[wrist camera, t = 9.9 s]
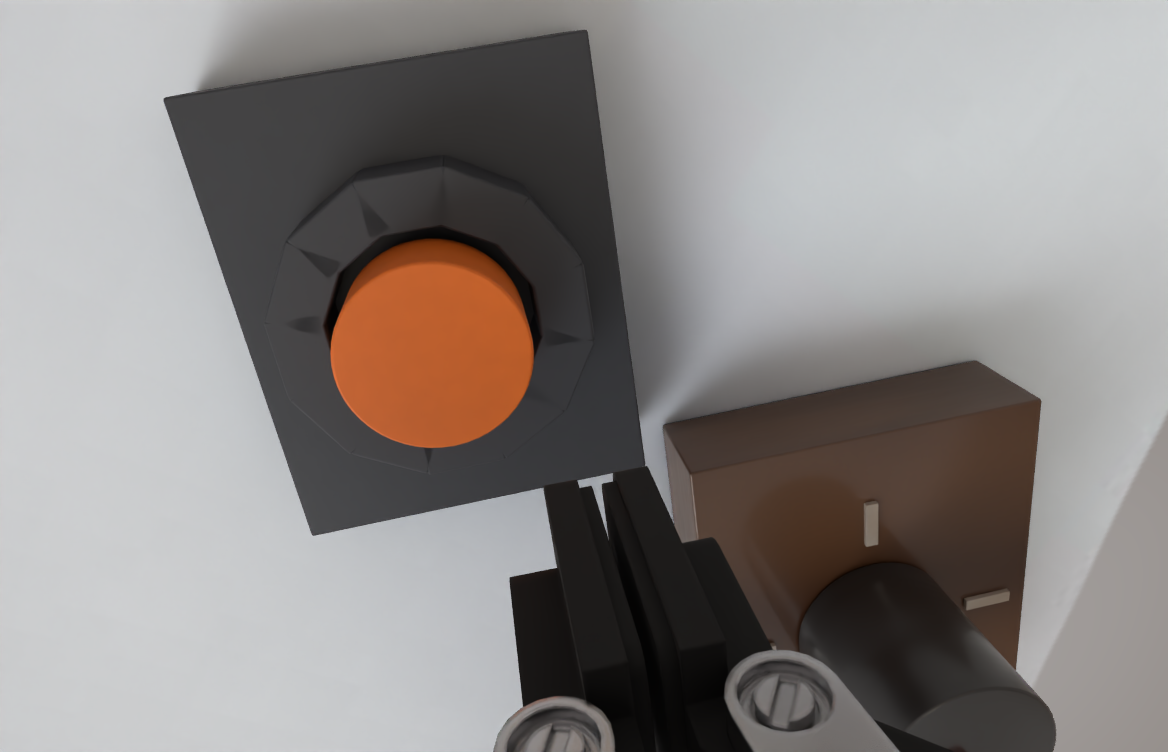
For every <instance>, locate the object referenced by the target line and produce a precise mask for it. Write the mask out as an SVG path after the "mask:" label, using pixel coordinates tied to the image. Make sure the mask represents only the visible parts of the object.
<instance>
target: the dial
mask: <svg viewBox="0 0 1168 752" xmlns="http://www.w3.org/2000/svg"><path fill="white" fill-rule="evenodd" d="M799 651H800V653H803V654H806V655H809V656H811V657H813V658H815V659H817V660H819V661H821V662H822V663H824V664H825V665H826V666H827V667H828V668H830V669H831V670H832V671H833V672H834V673H835V674H836V675H837V676H838V677H839V679H840V680H841V681H842V682H843V683H844V685H845V686H846V687H847V688H848V689H849V691H850V692H851V693H852V694H853V696H854V697H855V698H856V699H857V700H858V702H859V703H860V704H861V705H862V706H863V708H864V709H865V710H866V711H867V713H868V714H869V715H870V716H871V717H872V719H874V720H877V721H879V722H882V723H884V724H887V725H889V726H892V727H894V728H897V729H899V730H902V731H904V732H907V733H909V734H912V735H914V736H917V737H919V738H922V739H924V740H927V741H929V742H932V743H934V744H937V745H939V746H942V747H944V748H947V749H949V750H952V751H954V752H1053V750H1054V746H1055V741H1056V726H1055V721H1054V718H1053V715H1052V713H1051V711H1050V709H1049V707H1048V706H1047V705H1046V704H1045V703H1044V702H1043V700H1042V699H1041V698H1040V697H1039V696H1038V695H1037V694H1036V693H1035V692H1034V690H1033V689H1032V688H1031V687H1030V686H1029V685H1028V684H1027V683H1026V682H1025V680H1024V679H1023V678H1022V677H1021V676H1020V675H1019V674H1018V673H1017V672H1016V670H1015V669H1014V668H1013V667H1012V666H1011V665H1010V664H1009V663H1008V662H1007V661H1006V659H1005V658H1004V657H1003V656H1002V655H1001V654H1000V653H999V652H998V651H997V649H996V648H995V647H994V646H993V645H992V644H991V643H990V642H989V641H988V639H987V638H986V637H985V636H984V635H983V634H982V633H981V632H980V631H979V629H978V628H977V627H976V626H975V625H974V624H973V623H972V622H971V621H970V620H969V618H968V617H967V616H966V615H965V614H964V613H963V612H962V611H961V610H960V608H959V607H958V606H957V605H956V604H955V603H954V602H953V601H952V600H951V598H950V597H949V596H948V595H947V594H946V593H945V592H944V591H943V590H942V588H941V587H940V586H939V585H938V584H937V583H936V582H935V581H934V580H933V579H932V577H930V576H929V575H928V574H927V573H925V572H924V571H922V570H920V569H918V568H916V567H913V566H910V565H906V564H902V563H878V564H872V565H868V566H865V567H861V568H859V569H856V570H853V571H851V572H849V573H847V574H845V575H843V576H842V577H840V578H839V579H837V580H836V581H834V582H833V583H832V584H830V585H829V586H828V587H826V588H825V589H824V590H823V591H822V592H821V593H820V594H819V595H818V597H817V598H816V599H815V600H814V601H813V603H812V604H811V606H810V607H809V609H808V610H807V612H806V614H805V616H804V618H803V621H802V624H801V627H800V632H799Z"/></svg>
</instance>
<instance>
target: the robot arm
mask: <svg viewBox="0 0 1168 752" xmlns="http://www.w3.org/2000/svg"><path fill="white" fill-rule="evenodd" d="M543 488H544V494H545V500H546V506H547V512H548V518H549V523H550V529H551V535H552V541H553V547H554V552H555V558H556V564H557V568H554V569H549V570H544V571H539V572H534V573H529V574H524V575H519V576H514V577H510V590H511V599H512V608H513V617H514V627H515V636H516V645H517V654H518V663H519V673H520V682H521V691H522V700H523V707H522V708H521V709H520V710H519V711H517V712H516V713H515V714H514V715H513V716H511V717H510V718H509V719H508V720H507V722H506V723H505V725H504V726H503V727H502V729H501V730H500V732H499V733H498V736H497V740H496V743H495V746H494V750H493V752H954V751H952V750H949V749H947V748H944V747H942V746H939V745H937V744H934V743H932V742H929V741H927V740H924V739H922V738H919V737H917V736H914V735H912V734H909V733H907V732H904V731H902V730H899V729H897V728H894V727H892V726H889V725H887V724H884V723H882V722H879V721H877V720H874V719H872V717H871V716H870V715H869V714H868V713H867V711H866V710H865V709H864V708H863V706H862V705H861V704H860V703H859V702H858V700H857V699H856V698H855V697H854V696H853V694H852V693H851V692H850V691H849V689H848V688H847V687H846V686H845V685H844V683H843V682H842V681H841V680H840V679H839V677H838V676H837V675H836V674H835V673H834V672H833V671H832V670H831V669H830V668H828V667H827V666H826V665H825V664H824V663H822V662H821V661H819V660H817V659H815V658H813V657H811V656H809V655H806V654H803V653H799V652H795V651H791V650H773V648H772V647H771V645H770V643H769V641H768V639H767V637H766V635H765V633H764V631H763V629H762V627H761V625H760V623H759V621H758V619H757V618H756V616H755V614H754V612H753V610H752V608H751V606H750V604H749V602H748V600H747V598H746V596H745V594H744V592H743V590H742V589H741V587H740V585H739V583H738V581H737V579H736V577H735V575H734V573H733V571H732V569H731V567H730V565H729V563H728V561H727V560H726V558H725V556H724V554H723V552H722V550H721V548H720V546H719V544H718V543H717V541H716V540H715V539H714V538H713V537H709V538H704V539H699V540H694V541H689V542H684V543H682V542H681V540H680V537H679V535H678V533H677V531H676V528H675V526H674V524H673V522H672V520H671V517H670V515H669V513H668V511H667V508H666V506H665V504H664V502H663V499H662V497H661V495H660V493H659V491H658V488H657V486H656V484H655V482H654V479H653V477H652V475H651V473H650V470H649V469H648V467H647V466H644V467H639V468H634V469H628V470H623V471H618V472H613V482H609V483H603V484H602V493H603V500H604V508H605V515H606V522H607V530H608V536H607V533H606V530H605V527H604V524H603V520H602V517H601V514H600V511H599V507H598V504H597V501H596V498H595V494H594V491H593V488H592V486H588V487H583V488H579V485H578V482H577V480H571V481H565V482H560V483H555V484H550V485H544V486H543ZM608 537H609V540H608Z"/></svg>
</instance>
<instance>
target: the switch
mask: <svg viewBox="0 0 1168 752" xmlns="http://www.w3.org/2000/svg"><path fill="white" fill-rule="evenodd" d="M330 355H331V367H332V371H333V376H334V379H335V382H336V385H337V387H338V390H339V392H340V393H341V395H342V397H343V399H344V401H345V402H346V403H347V405H348V406H349V408H350V409H351V410H352V411H353V412H354V414H355V415H356V416H357V417H358V418H359V419H360V420H361V421H363V422H364V423H365V424H366V425H367V426H369V427H370V428H371V429H373V430H375V431H376V432H378V433H379V434H381V435H383V436H385V437H387V438H389V439H391V440H394V441H397V442H400V443H403V444H407V445H411V446H416V447H426V448H442V447H450V446H456V445H460V444H463V443H467V442H470V441H472V440H475V439H477V438H480V437H481V436H483V435H485V434H487V433H489V432H490V431H492V430H493V429H495V428H496V427H497V426H499V425H500V424H501V423H502V422H503V421H505V420H506V419H507V418H508V417H509V416H510V415H511V413H512V412H513V411H514V410H515V409H516V407H517V406H518V404H519V403H520V401H521V400H522V398H523V396H524V394H525V392H526V390H527V388H528V385H529V382H530V379H531V376H532V370H533V364H534V348H533V339H532V335H531V332H530V328H529V324H528V321H527V317H526V314H525V310H524V307H523V303H522V300H521V297H520V295H519V292H518V290H517V288H516V286H515V285H514V283H513V281H512V279H511V278H510V277H509V276H508V274H507V273H506V272H505V270H504V269H503V268H502V267H501V266H500V265H499V264H498V263H497V262H496V261H494V260H493V259H492V258H490V257H489V256H488V255H486V254H485V253H483V252H481V251H479V250H478V249H476V248H474V247H471V246H469V245H466V244H464V243H460V242H456V241H453V240H446V239H428V238H427V239H419V240H413V241H409V242H405V243H401V244H399V245H396V246H394V247H391V248H390V249H388V250H386V251H384V252H382V253H381V254H379V255H378V256H377V257H375V258H374V259H373V260H371V261H370V262H369V263H368V264H367V265H366V266H365V267H364V268H363V269H362V270H361V272H360V273H359V274H358V276H357V277H356V278H355V280H354V282H353V284H352V286H351V287H350V289H349V292H348V294H347V297H346V299H345V302H344V304H343V307H342V309H341V312H340V314H339V317H338V319H337V322H336V325H335V327H334V331H333V335H332V340H331V352H330Z"/></svg>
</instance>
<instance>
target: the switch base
mask: <svg viewBox="0 0 1168 752" xmlns="http://www.w3.org/2000/svg"><path fill="white" fill-rule="evenodd" d="M164 103H165V106H166V109H167V112H168V115H169V118H170V121H171V124H172V127H173V130H174V132H175V135H176V138H177V141H178V144H179V147H180V150H181V153H182V156H183V159H184V162H185V165H186V168H187V170H188V173H189V176H190V179H191V182H192V185H193V188H194V191H195V194H196V197H197V200H198V203H199V206H200V209H201V211H202V214H203V217H204V220H205V223H206V226H207V229H208V232H209V235H210V238H211V241H212V244H213V247H214V250H215V252H216V255H217V258H218V261H219V264H220V267H221V270H222V273H223V276H224V279H225V282H226V285H227V288H228V291H229V293H230V296H231V299H232V302H233V305H234V308H235V311H236V314H237V317H238V320H239V323H240V326H241V329H242V331H243V334H244V337H245V340H246V343H247V346H248V349H249V352H250V355H251V358H252V361H253V364H254V367H255V370H256V372H257V375H258V378H259V381H260V384H261V387H262V390H263V393H264V396H265V399H266V402H267V405H268V408H269V411H270V413H271V416H272V419H273V422H274V425H275V428H276V431H277V434H278V437H279V440H280V443H281V446H282V449H283V452H284V454H285V457H286V460H287V463H288V466H289V469H290V472H291V475H292V478H293V481H294V484H295V487H296V490H297V492H298V495H299V498H300V501H301V504H302V507H303V510H304V513H305V516H306V519H307V522H308V525H309V528H310V531H311V533H312V535H313V536H315V535H319V534H324V533H329V532H334V531H338V530H343V529H348V528H353V527H357V526H362V525H367V524H372V523H376V522H381V521H386V520H391V519H396V518H400V517H405V516H410V515H415V514H419V513H424V512H429V511H434V510H438V509H443V508H448V507H453V506H457V505H462V504H467V503H472V502H477V501H481V500H486V499H491V498H496V497H500V496H505V495H510V494H515V493H519V492H524V491H529V490H534V489H538V488H543V486H544V485H550V484H555V483H560V482H565V481H571V480H581V479H586V478H591V477H596V476H600V475H605V474H610V473H613V472H618V471H623V470H628V469H634V468H639V467H643V466H645V459H644V451H643V444H642V436H641V429H640V421H639V414H638V406H637V399H636V391H635V384H634V376H633V369H632V361H631V354H630V346H629V339H628V331H627V324H626V316H625V309H624V301H623V293H622V286H621V278H620V271H619V263H618V256H617V248H616V241H615V233H614V226H613V218H612V211H611V203H610V196H609V188H608V181H607V173H606V166H605V158H604V151H603V143H602V135H601V128H600V120H599V113H598V105H597V98H596V90H595V83H594V75H593V68H592V60H591V53H590V45H589V38H588V32H587V30H577V31H568V32H562V33H556V34H550V35H544V36H537V37H531V38H525V39H519V40H513V41H506V42H500V43H494V44H488V45H482V46H475V47H469V48H463V49H457V50H451V51H444V52H438V53H432V54H426V55H420V56H413V57H407V58H401V59H395V60H389V61H382V62H376V63H370V64H364V65H358V66H351V67H345V68H339V69H333V70H327V71H320V72H314V73H308V74H302V75H296V76H289V77H283V78H277V79H271V80H265V81H258V82H252V83H246V84H240V85H234V86H227V87H221V88H215V89H209V90H203V91H196V92H191V93H186V94H181V95H176V96H170V97H165V98H164ZM427 238H428V239H446V240H453V241H456V242H460V243H464V244H466V245H469V246H471V247H474V248H476V249H478V250H479V251H481V252H483V253H485V254H486V255H488V256H489V257H490V258H492V259H493V260H494V261H496V262H497V263H498V264H499V265H500V266H501V267H502V268H503V269H504V270H505V272H506V273H507V274H508V276H509V277H510V278H511V279H512V281H513V283H514V285H515V286H516V288H517V290H518V292H519V295H520V297H521V300H522V303H523V307H524V310H525V314H526V317H527V321H528V324H529V328H530V332H531V335H532V339H533V348H534V364H533V370H532V376H531V379H530V382H529V385H528V388H527V390H526V392H525V394H524V396H523V398H522V400H521V401H520V403H519V404H518V406H517V407H516V409H515V410H514V411H513V412H512V413H511V415H510V416H509V417H508V418H507V419H506V420H505V421H503V422H502V423H501V424H500V425H499V426H497V427H496V428H495V429H493V430H492V431H490V432H489V433H487V434H485V435H483V436H481V437H480V438H477V439H475V440H472V441H470V442H467V443H463V444H460V445H456V446H450V447H442V448H426V447H416V446H411V445H407V444H403V443H400V442H397V441H394V440H391V439H389V438H387V437H385V436H383V435H381V434H379V433H378V432H376V431H375V430H373V429H371V428H370V427H369V426H367V425H366V424H365V423H364V422H363V421H361V420H360V419H359V418H358V417H357V416H356V415H355V414H354V412H353V411H352V410H351V409H350V408H349V406H348V405H347V403H346V402H345V401H344V399H343V397H342V395H341V393H340V392H339V390H338V387H337V385H336V382H335V379H334V376H333V371H332V367H331V355H330V352H331V340H332V335H333V331H334V327H335V325H336V322H337V319H338V317H339V314H340V312H341V309H342V307H343V304H344V302H345V299H346V297H347V294H348V292H349V289H350V287H351V286H352V284H353V282H354V280H355V278H356V277H357V276H358V274H359V273H360V272H361V270H362V269H363V268H364V267H365V266H366V265H367V264H368V263H369V262H370V261H371V260H373V259H374V258H375V257H377V256H378V255H379V254H381V253H382V252H384V251H386V250H388V249H390V248H391V247H394V246H396V245H399V244H401V243H405V242H409V241H413V240H419V239H427Z"/></svg>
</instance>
